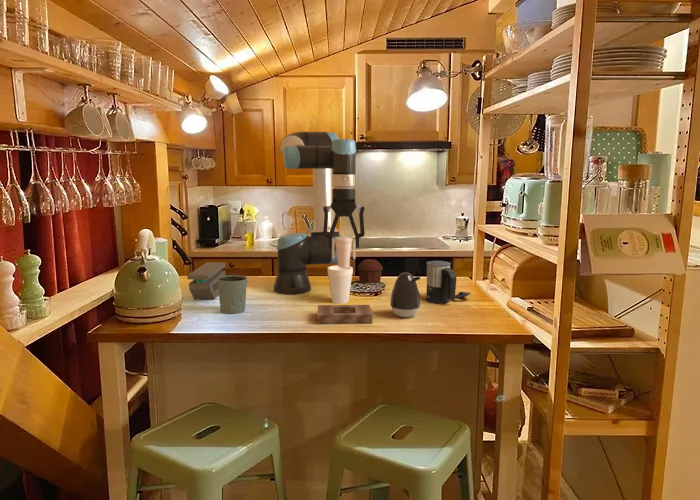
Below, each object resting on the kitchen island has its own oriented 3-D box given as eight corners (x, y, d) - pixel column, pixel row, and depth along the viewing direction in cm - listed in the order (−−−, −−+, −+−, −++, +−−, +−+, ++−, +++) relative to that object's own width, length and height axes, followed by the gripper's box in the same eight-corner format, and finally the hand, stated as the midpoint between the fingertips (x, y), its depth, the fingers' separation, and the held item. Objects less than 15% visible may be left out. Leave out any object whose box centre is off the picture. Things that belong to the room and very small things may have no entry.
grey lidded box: (207, 287, 217) (206, 262, 215) (226, 287, 217) (225, 262, 215) (188, 303, 192) (187, 275, 191) (209, 304, 192) (208, 275, 190)
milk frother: (420, 300, 198) (421, 262, 196) (443, 293, 210) (444, 257, 207) (452, 307, 189) (453, 268, 186) (474, 299, 200) (476, 262, 197)
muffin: (355, 279, 233) (356, 257, 232) (380, 279, 235) (380, 257, 233) (359, 285, 222) (359, 262, 220) (384, 285, 223) (385, 262, 221)
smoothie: (351, 268, 168) (351, 226, 166) (332, 267, 170) (331, 225, 167) (355, 265, 174) (355, 223, 172) (336, 264, 176) (336, 223, 173)
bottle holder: (317, 324, 169) (317, 315, 168) (317, 313, 181) (317, 305, 180) (372, 323, 170) (372, 314, 169) (369, 313, 182) (369, 304, 181)
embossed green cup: (216, 308, 186) (215, 276, 184) (244, 305, 190) (243, 273, 188) (221, 316, 177) (220, 282, 175) (250, 313, 181) (249, 279, 179)
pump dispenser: (412, 321, 172) (413, 277, 170) (384, 316, 178) (385, 273, 175) (425, 314, 181) (426, 271, 178) (398, 309, 186) (399, 268, 183)
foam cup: (356, 299, 199) (356, 266, 197) (346, 305, 191) (346, 271, 188) (334, 297, 203) (334, 264, 201) (323, 302, 195) (323, 268, 192)
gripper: (313, 188, 164) (314, 260, 168) (374, 188, 164) (373, 259, 168) (314, 187, 171) (314, 255, 175) (372, 187, 172) (371, 255, 176)
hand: (343, 257), depth 172 cm, fingers closed on smoothie, 6 cm apart
